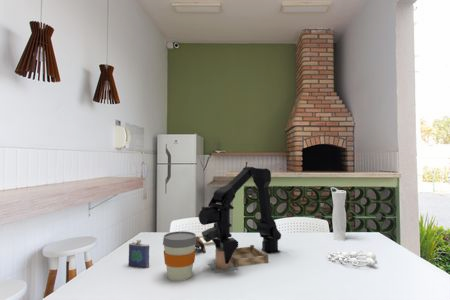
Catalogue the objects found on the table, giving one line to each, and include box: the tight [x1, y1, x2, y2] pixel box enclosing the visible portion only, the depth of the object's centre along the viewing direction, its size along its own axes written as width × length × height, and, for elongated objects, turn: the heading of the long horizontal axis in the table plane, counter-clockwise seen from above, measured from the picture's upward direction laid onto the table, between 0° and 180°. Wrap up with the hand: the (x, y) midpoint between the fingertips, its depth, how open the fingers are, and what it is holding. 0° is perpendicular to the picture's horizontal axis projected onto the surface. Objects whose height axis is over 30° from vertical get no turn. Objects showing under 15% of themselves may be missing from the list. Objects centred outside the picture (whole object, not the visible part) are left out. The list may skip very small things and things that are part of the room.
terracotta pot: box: [214, 247, 230, 270], centre depth 117 cm, size 6×6×7 cm
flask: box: [128, 239, 150, 269], centre depth 118 cm, size 9×3×11 cm, turn 74°
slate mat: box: [207, 262, 240, 274], centre depth 117 cm, size 10×10×1 cm
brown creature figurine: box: [195, 237, 207, 254], centre depth 137 cm, size 12×9×8 cm
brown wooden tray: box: [230, 244, 269, 268], centre depth 126 cm, size 15×15×4 cm
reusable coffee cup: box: [162, 230, 197, 282], centre depth 109 cm, size 13×13×15 cm
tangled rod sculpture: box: [326, 249, 377, 267], centre depth 123 cm, size 19×14×4 cm
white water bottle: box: [330, 187, 347, 242], centre depth 158 cm, size 8×8×28 cm
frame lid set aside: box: [196, 235, 215, 247], centre depth 154 cm, size 14×14×1 cm
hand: (222, 259), depth 117 cm, fingers open, 9 cm apart
